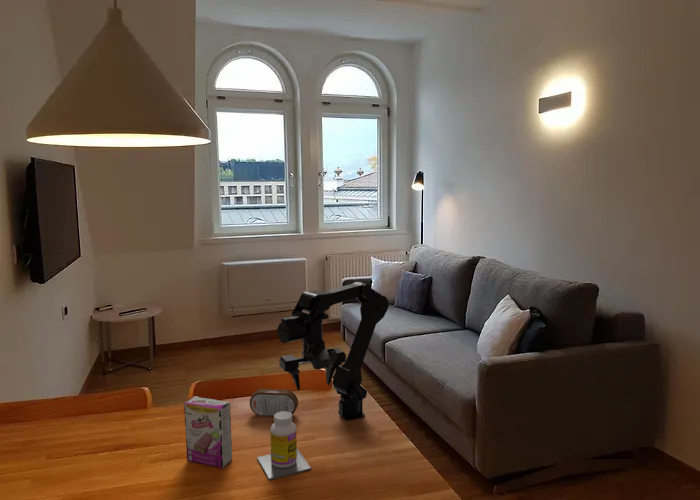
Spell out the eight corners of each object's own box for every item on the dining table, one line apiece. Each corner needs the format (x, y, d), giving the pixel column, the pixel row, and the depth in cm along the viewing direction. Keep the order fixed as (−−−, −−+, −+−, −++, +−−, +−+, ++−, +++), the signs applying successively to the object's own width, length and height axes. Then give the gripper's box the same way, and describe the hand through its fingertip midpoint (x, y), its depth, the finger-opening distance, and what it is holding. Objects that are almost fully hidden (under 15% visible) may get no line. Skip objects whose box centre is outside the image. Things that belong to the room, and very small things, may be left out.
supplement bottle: (289, 471, 133) (288, 423, 131) (266, 466, 135) (265, 418, 133) (301, 458, 139) (300, 411, 137) (279, 453, 141) (277, 407, 139)
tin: (298, 414, 165) (298, 388, 164) (296, 419, 162) (296, 393, 161) (251, 412, 167) (250, 387, 166) (248, 417, 164) (248, 391, 163)
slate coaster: (296, 449, 144) (296, 447, 144) (311, 469, 134) (311, 467, 134) (257, 458, 140) (257, 457, 139) (269, 480, 130) (269, 478, 130)
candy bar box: (185, 462, 138) (182, 402, 136) (197, 452, 143) (194, 395, 141) (222, 469, 135) (220, 408, 132) (233, 459, 139) (231, 400, 137)
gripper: (290, 348, 140) (292, 404, 142) (354, 339, 148) (354, 392, 150) (278, 337, 150) (279, 389, 152) (338, 328, 158) (338, 378, 160)
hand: (313, 387), depth 153 cm, fingers open, 9 cm apart
